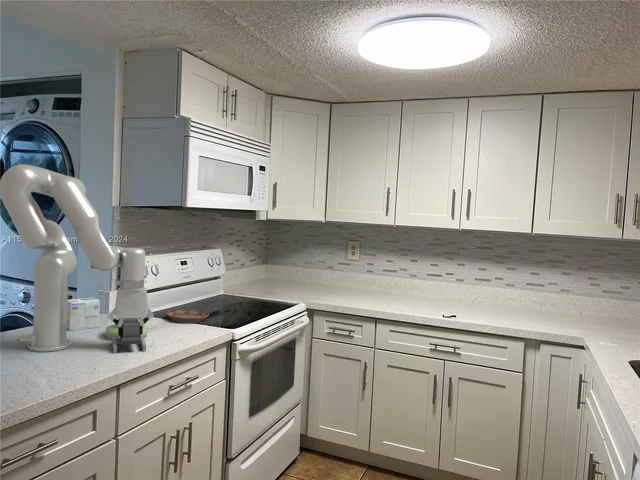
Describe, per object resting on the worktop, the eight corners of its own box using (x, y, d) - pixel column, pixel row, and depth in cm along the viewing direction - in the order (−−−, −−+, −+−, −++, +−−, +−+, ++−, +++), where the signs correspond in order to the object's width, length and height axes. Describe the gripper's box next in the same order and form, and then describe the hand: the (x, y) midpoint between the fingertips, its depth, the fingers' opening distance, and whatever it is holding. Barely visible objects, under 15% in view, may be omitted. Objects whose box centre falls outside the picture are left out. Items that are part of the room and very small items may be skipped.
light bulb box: (93, 323, 184) (94, 296, 184) (99, 327, 180) (100, 300, 179) (63, 327, 177) (64, 299, 176) (69, 331, 172) (70, 302, 171)
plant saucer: (196, 313, 215) (197, 307, 215) (216, 322, 202) (216, 315, 202) (159, 317, 203) (160, 310, 203) (177, 326, 190) (178, 319, 190)
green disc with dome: (106, 353, 151) (107, 332, 150) (105, 331, 175) (106, 313, 174) (152, 350, 157) (153, 330, 156) (144, 330, 181) (145, 312, 180)
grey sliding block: (121, 344, 152) (122, 326, 152) (120, 336, 161) (120, 319, 160) (141, 343, 155) (141, 325, 154) (138, 335, 164) (139, 318, 163)
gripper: (104, 286, 150) (102, 342, 152) (160, 286, 158) (157, 338, 159) (104, 282, 157) (102, 335, 158) (157, 282, 164) (155, 332, 166)
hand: (130, 336), depth 159 cm, fingers closed on grey sliding block, 5 cm apart
